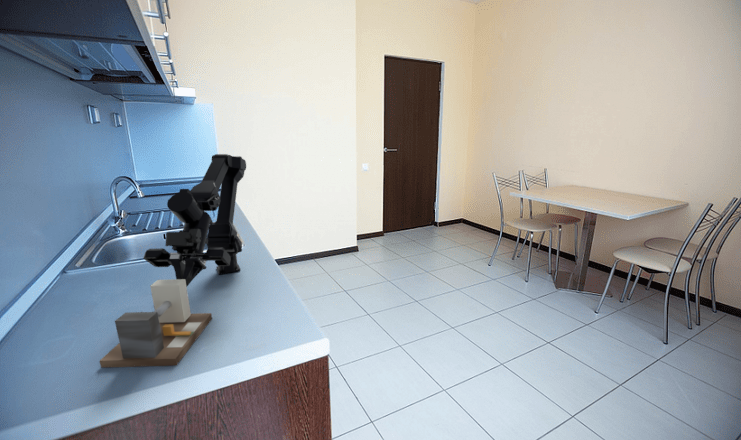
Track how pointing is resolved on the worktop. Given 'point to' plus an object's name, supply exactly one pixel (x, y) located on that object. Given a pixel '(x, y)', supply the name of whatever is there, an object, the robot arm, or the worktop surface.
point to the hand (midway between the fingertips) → (180, 290)
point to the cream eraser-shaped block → (171, 300)
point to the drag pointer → (169, 331)
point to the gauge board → (166, 352)
